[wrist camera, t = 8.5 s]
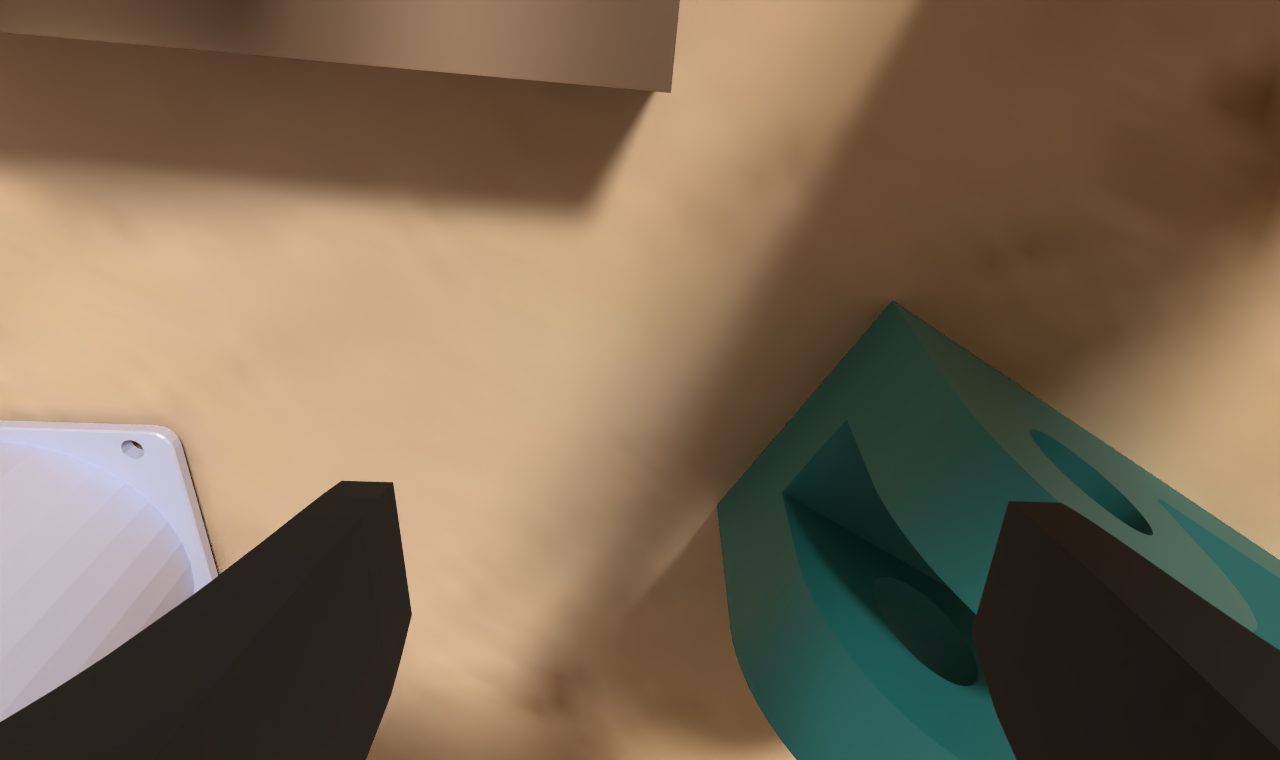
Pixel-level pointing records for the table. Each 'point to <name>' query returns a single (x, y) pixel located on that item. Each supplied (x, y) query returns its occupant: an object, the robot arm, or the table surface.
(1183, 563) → the bracket
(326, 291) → the table surface
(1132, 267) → the table surface
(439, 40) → the walnut block
